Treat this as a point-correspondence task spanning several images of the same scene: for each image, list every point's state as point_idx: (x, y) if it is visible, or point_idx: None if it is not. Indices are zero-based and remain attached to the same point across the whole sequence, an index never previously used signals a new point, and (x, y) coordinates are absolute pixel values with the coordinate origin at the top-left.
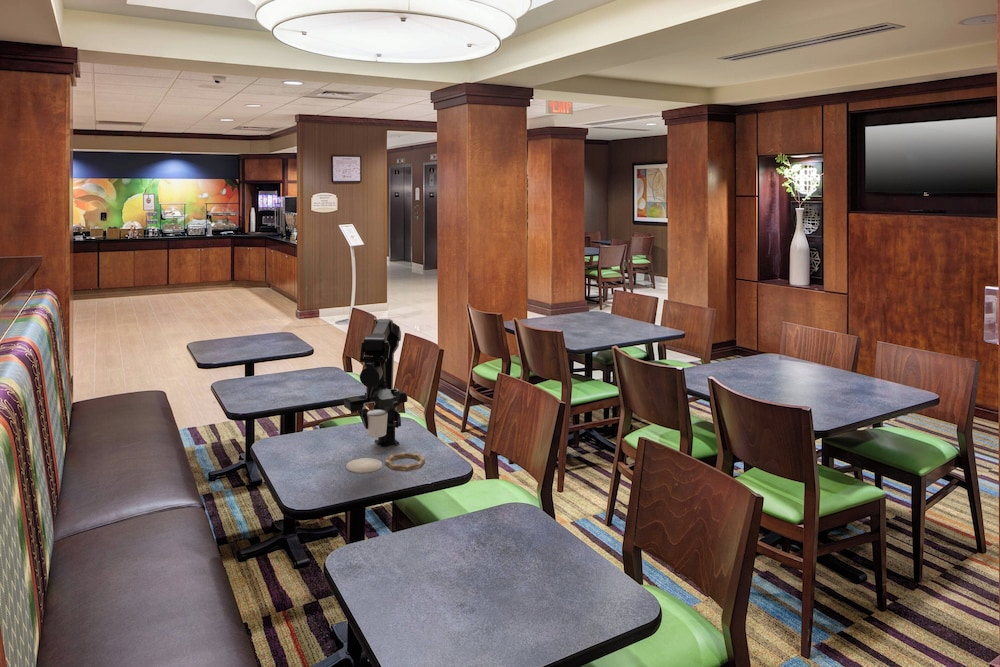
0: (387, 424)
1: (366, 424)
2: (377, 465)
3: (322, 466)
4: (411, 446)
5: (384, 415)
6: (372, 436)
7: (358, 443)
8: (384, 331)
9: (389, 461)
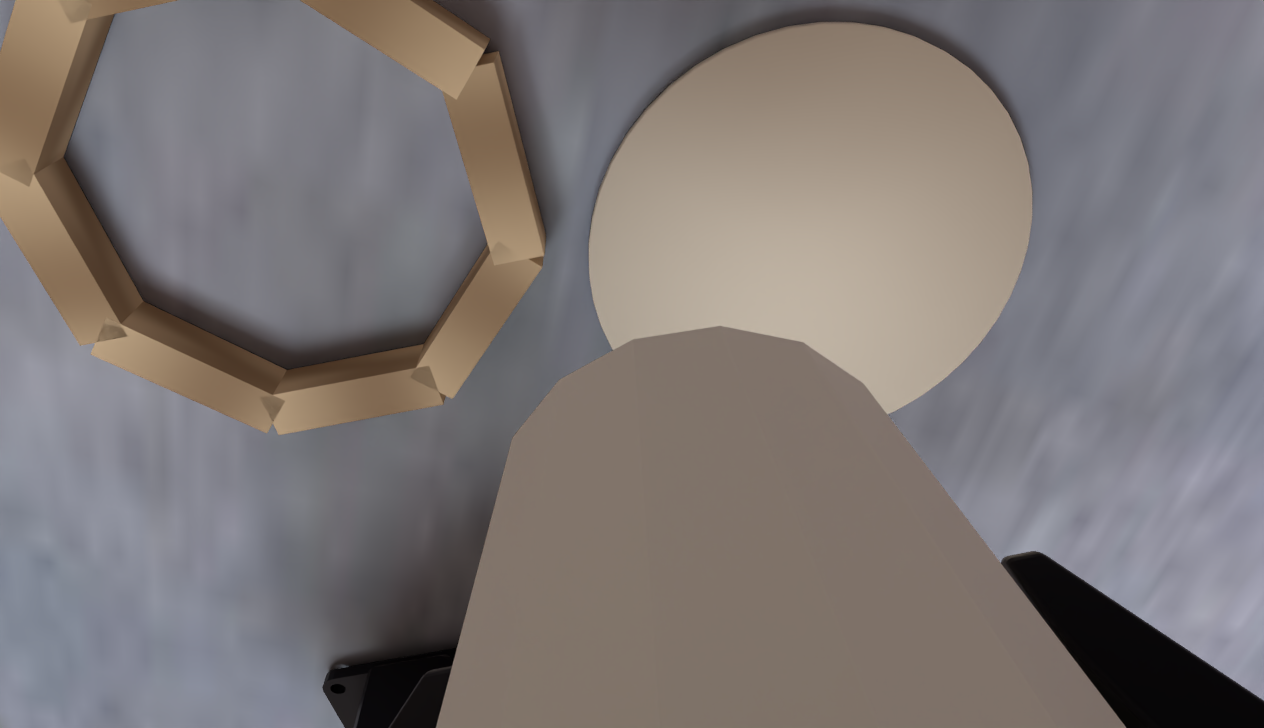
0: (435, 681)
1: (1133, 643)
2: (662, 191)
3: (1211, 372)
4: (200, 607)
5: None
6: (851, 379)
7: None
8: None
9: (498, 206)
